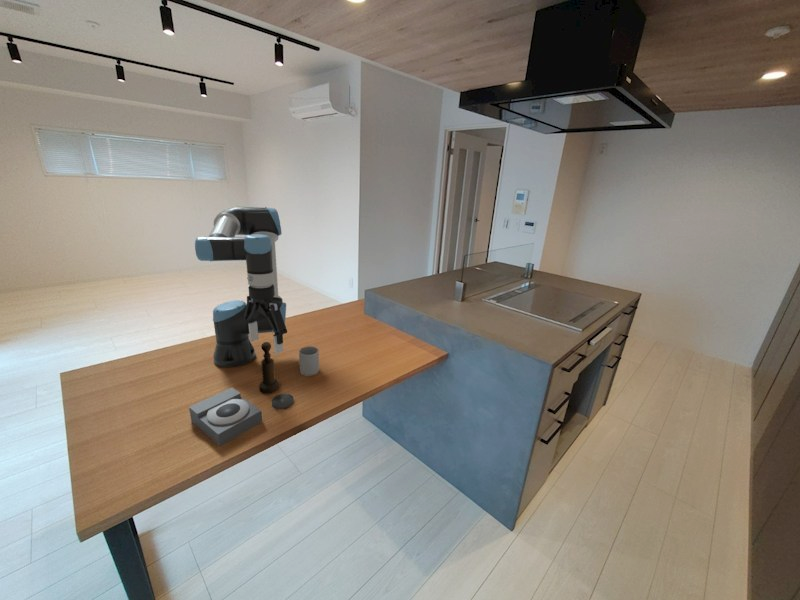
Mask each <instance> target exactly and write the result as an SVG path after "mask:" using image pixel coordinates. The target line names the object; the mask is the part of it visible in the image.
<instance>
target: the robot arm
mask: <svg viewBox="0 0 800 600" xmlns="http://www.w3.org/2000/svg"><path fill="white" fill-rule="evenodd" d="M282 233H283V232H282V226H281V221H280V216H279V212H278V210H277V209H276V208H273V207H267V206H266V207H254V206H234V207H230V208H228V209H225V210H222V211H221V212H219V213H218V214H217V215H216V216H215V217H214V219H213V228H212V229H211V231H210V233H209V235H208V236H199V237H197V238H195V240H194V250H195V255H196V258H197V259H198V260H199V261H201V262H202V261H203V262H205V261H206V262H222V261H224V262H227V261H228V262H230V261H245V263H246V272H247V274H246V275H247V284H248V295H247V296H246V302H245V301H244V300H236V299H235V300H231V301H226V302H222V303H220V304H218V305H217V306H215V307H214V308H213V311H212V322H213V325H214V326H213V327H214V333H215V341H216V343H215V347H214V352H213V355H212V356H213V363H214V364H215V365H216V366H219V367H220V368H221V367H222V368H234V367H235V368H236V367H240V366H243V365H246V364H248V363H250V362H251V361H253V360H254V359H255V357H256V349H255V348H254V346H253V344H252V342H255V341H258V340H259V334H266V333H267V334H268V333H272V336H273V337H272V338H273V350H274V352H273V353H274V354H275V355H278V354H279V353H282V352H284V345H283V344H284V338H283V337H284V334H287V333H288V329H287V327H286V316H287V302H283V298H282V297H281V296H280V295H279V287H278V285H279V283H278V270H277V268H278V267H277V255H276V253H277V251H276V242H277V241H278V240H279V236H281V235H282ZM237 235H238V236H237ZM239 235H240V236H239ZM236 236H237V237H236ZM273 333H274V334H273Z"/></svg>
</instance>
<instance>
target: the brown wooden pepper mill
mask: <svg viewBox="0 0 800 600" xmlns="http://www.w3.org/2000/svg"><path fill="white" fill-rule="evenodd" d="M271 349H272V344H271V343H270V342H268V341H264V342H263V343H261V350H262V351H263V353H264V354H263V359H262V360H261V373H262V380H261V382H259V385H258V388H259V393H261V394H263V395H270V394H274V393H276V392H278V391H279V390H280V387H281V385H280V381H279V379H277V378H276V376H275V374H276V373H275V364H274V363H275V359H273V358H271V356H272V354H271V353H270V351H271Z"/></svg>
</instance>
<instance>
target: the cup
mask: <svg viewBox="0 0 800 600" xmlns="http://www.w3.org/2000/svg"><path fill="white" fill-rule="evenodd" d="M319 352H320V351H319V347H316V346H311V345H310V346H304V347H300V349H299V350H298V357H299V358H298V360H299V361H298V363H299V372H300V374H301V375H303V376H306V377H311V376H315V375H317V374H318V373H319V370H320V360H319V359H320V357H319V356H320V355H319V354H320V353H319Z"/></svg>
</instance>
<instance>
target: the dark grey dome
mask: <svg viewBox="0 0 800 600" xmlns="http://www.w3.org/2000/svg"><path fill="white" fill-rule="evenodd" d="M294 398H295V397H294V395H292V394H291V393H284V392H283V393H279V394H276V395H275V396H273V397H272V398H271V400H270V402H271V403H270V404H271V407H272V408H273V409H275V410H280V411H281V410H287V409H289V408H290V407H292V406H293V405H294V403H295V400H294Z"/></svg>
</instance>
